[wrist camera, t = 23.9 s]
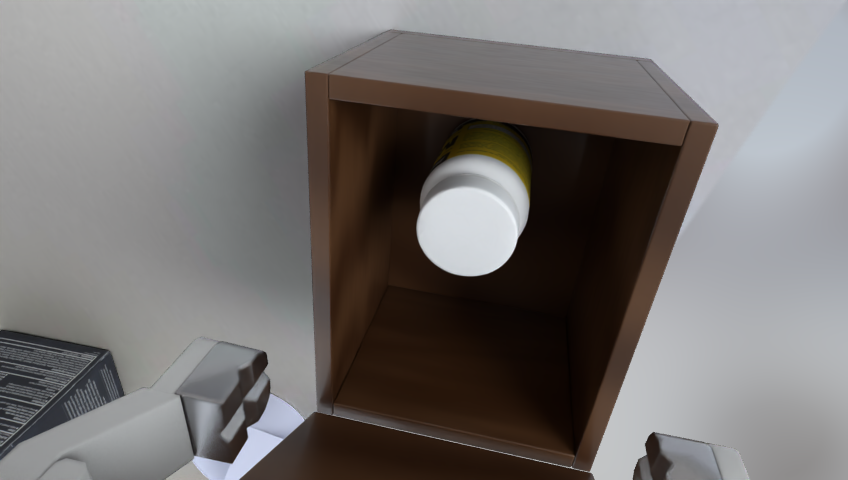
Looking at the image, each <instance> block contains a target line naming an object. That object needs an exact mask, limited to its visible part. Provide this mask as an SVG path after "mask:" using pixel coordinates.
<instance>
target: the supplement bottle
mask: <svg viewBox="0 0 848 480" xmlns="http://www.w3.org/2000/svg"><path fill="white" fill-rule="evenodd" d="M531 177H532V151H531V147H530V144H529V142H528V140H527V138H526V137H525V135H524V134H523V133H522V132H521V131H520V130H519V129H518V128H517V127H516V126H515V125H513V124H511V123H504V122H496V121H489V120H482V119H470V120H468V121H466V122H464V123H462V124H461V125H459V126H458V127H457V128H456V129H455V130H454V131H453V132H452V133H451V134H450V136H449V137H448V138H447V140H446V142H445V144H444V146H443V148H442V150H441V152H440V154H439V155H438V157H437V159H436V161H435V163H434V165H433V167H432V169H431V171H430V173H429V174H428V176H427V178H426V180H425V182H424V185H423V187H422V191H421V196H420V212H419V215H418V219H417V226H416V231H417V238H418V241H419V244H420V246H421V248H422V250H423V252H424V253H425V255H426V256H427V257H428V258H429V259H430V260H431V261H432V262H433V263H434V264H435V265H436V266H438V267H439V268H441V269H443V270H445V271H447V272H449V273H452V274H456V275H461V276H479V275H484V274H488V273H490V272H493V271H494V270H496V269H498V268H499V267H501V266H502V265H503V264H504V263H505V262H506V261H507V260H508V259H509V258H510V256H511V255H512V253H513V251H514V249H515V247H516V243H517V239H518V237H519V236H520V235H521V233H522V231H523V230H524V227H525V225H526V222H527V219H528V214H529V207H530V190H531Z"/></svg>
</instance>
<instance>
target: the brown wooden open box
mask: <svg viewBox="0 0 848 480" xmlns="http://www.w3.org/2000/svg"><path fill="white" fill-rule="evenodd" d="M305 91H306V119H307V146H308V174H309V201H310V229H311V257H312V284H313V312H314V340H315V367H316V395H317V411H318V412H322V413H326V414H331V415H333V413H334V415H336V416H341V417H345V418H350V419H354V420H359V421H363V422H368V423H373V424H377V425H382V426H386V427H391V428H395V429H400V430H404V431H409V432H413V433H418V434H422V435H427V436H431V437H436V438H440V439H445V440H449V441H454V442H458V443H463V444H467V445H472V446H476V447H481V448H485V449H490V450H494V451H499V452H503V453H508V454H512V455H517V456H521V457H526V458H530V459H535V460H539V461H544V462H549V463H553V464H558V465H562V466H567V467H571V466H572V468H574V469H579V470H583V471H588V472H589V471H590V470H591V467H592V464H593V462H594V459H595V456H596V454H597V451H598V448H599V445H600V443H601V440H602V438H603V435H604V432H605V429H606V427H607V424H608V421H609V419H610V416H611V413H612V411H613V408H614V405H615V403H616V400H617V397H618V395H619V392H620V389H621V387H622V384H623V381H624V379H625V376H626V373H627V370H628V368H629V365H630V362H631V360H632V357H633V354H634V352H635V349H636V346H637V343H638V341H639V338H640V336H641V333H642V330H643V327H644V325H645V322H646V319H647V317H648V314H649V311H650V309H651V306H652V303H653V301H654V298H655V295H656V293H657V290H658V287H659V284H660V282H661V279H662V277H663V274H664V271H665V268H666V266H667V263H668V260H669V258H670V255H671V252H672V250H673V247H674V244H675V242H676V239H677V236H678V234H679V231H680V228H681V226H682V223H683V220H684V217H685V215H686V212H687V209H688V207H689V204H690V201H691V199H692V196H693V193H694V191H695V188H696V185H697V183H698V180H699V177H700V175H701V172H702V169H703V166H704V164H705V161H706V158H707V156H708V153H709V150H710V148H711V145H712V142H713V140H714V137H715V134H716V132H717V129H718V123H717V122H716V121H714V120H713V119H712V118H711V117H710V116H709V115H708V114H707V113H706V112H705V111H704V110H703V109H702V108H701V107H700V106H699V105H698V104H697V103H696V102H695V101H694V100H693V99H692V98H691V97H690V96H688V95H687V94H686V93H685V92H684V91H683V90H682V89H681V88H680V87H679V86H678V85H677V84H676V83H675V82H674V81H673V80H672V79H671V78H670V77H669V76H668V75H667V74H666V73H665V72H664V71H662V70H661V69H660V68H659V67H658V66H657V65H656V64H655V63H654V62H653V61H652V60H651V59H644V58H636V57H627V56H618V55H609V54H601V53H592V52H583V51H574V50H566V49H557V48H548V47H539V46H530V45H522V44H513V43H504V42H495V41H487V40H478V39H469V38H460V37H452V36H443V35H434V34H425V33H417V32H408V31H399V30H389V31H387V32H385V33H383V34H381V35H379V36H377V37H375V38H373V39H371V40H368V41H366V42H364V43H362V44H360V45H358V46H356V47H354V48H352V49H350V50H348V51H346V52H344V53H342V54H340V55H338V56H336V57H334V58H332V59H329V60H327V61H325V62H323V63H321V64H319V65H317V66H315V67H313V68H311V69H309V70H307V71H305ZM470 119H482V120H489V121H496V122H504V123H511V124H513V125H515V126H516V127H517V128H518V129H519V130H520V131H521V132H522V133H523V134H524V135H525V137H526V138H527V140H528V142H529V144H530V147H531V151H532V177H531V190H530V207H529V214H528V219H527V222H526V225H525V227H524V230H523V231H522V233H521V235H520V236H519V237H518V239H517V243H516V247H515V249H514V251H513V253H512V255H511V256H510V258H509V259H508V260H507V261H506V262H505V263H504V264H503V265H502V266H501V267H499V268H498V269H496V270H494V271H493V272H490V273H488V274H484V275H479V276H461V275H456V274H452V273H449V272H447V271H445V270H443V269H441V268H439V267H438V266H436V265H435V264H434V263H433V262H432V261H431V260H430V259H429V258H428V257H427V256H426V255H425V253H424V252H423V250H422V248H421V246H420V244H419V241H418V238H417V231H416V226H417V219H418V215H419V212H420V196H421V191H422V187H423V185H424V182H425V180H426V178H427V176H428V174H429V173H430V171H431V169H432V167H433V165H434V163H435V161H436V159H437V157H438V155H439V154H440V152H441V150H442V148H443V146H444V144H445V142H446V140H447V138H448V137H449V136H450V134H451V133H452V132H453V131H454V130H455V129H456V128H457V127H458V126H459V125H461V124H462V123H464V122H466V121H468V120H470Z"/></svg>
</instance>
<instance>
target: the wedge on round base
mask: <svg viewBox="0 0 848 480" xmlns="http://www.w3.org/2000/svg"><path fill="white" fill-rule="evenodd" d="M303 422H304V419H303V418H302V416H301V415H300V414H299V413H298V412H297V411H296V410H295V409H294V408H293V407H292V406H291V405H289V404H288V403H287V402H285V401H284V400H282V399H281V398H279V397H277V396H275V395H273V394H270V396H269V400H268V403H267V406H266V409H265V411H264V413H263V414H262V416H261V418H260V420H259V421H258V422H256V423H255V424H253V425H251V426H250V427H248V428H247V432H248V439H247V441H246V443H245V444H244V446H243V447H242V449H241V451H240V452H239V454H238V456H237V457H236V459H235V460H234V462H233V464H229V463H225V462H220V461H215V460H211V459H206V458H201V457H197V456H194V459H193V460H192V461H193V463H194V464H195V466H196V467H197V468H198V469H199V470H200V471H201V472H202V473H203V474H204V475H205V476H206V477H207V478H208V479H210V480H239V479H240V478H241V477H242V476H243V475H245V474H246V473H247V472H248V471H249V470H250V469H251V468H252V467H253V466H255V465H256V464H257V463H258V462H259V461H260V460H261V459H262V458H264V457H265V456H266V455H267V454H268V453H269V452H270V451H271V450H272V449H274V448H275V447H276V446H277V445H278V444H279V443H280V442H281V441H283V440H284V439H285V438H286V437H287V436H288V435H289V434H290V433H291V432H293V431H294V430H295V429H296V428H297V427H298V426H299V425H300V424H301V423H303Z"/></svg>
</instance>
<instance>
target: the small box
mask: <svg viewBox="0 0 848 480" xmlns="http://www.w3.org/2000/svg"><path fill="white" fill-rule="evenodd" d="M123 396H124V392H123V389H122V386H121V383H120V380H119V377H118V374H117V371H116V368H115V365H114V362H113V359H112V356H111V353H110V352H109V351H107V350H103V349H97V348H92V347H87V346H82V345H77V344H71V343H66V342H61V341H56V340H51V339H46V338H41V337H36V336H30V335H26V334H20V333H15V332H10V331H5V330H1V331H0V461H1V460H2V459H3V458H4V457H5V456H6V455H7V454H8V453H9V452H10V451H11V450H12V449H14V448H15V447H16V446H17V445H18V444H19V443H21V442H23V441H25V440H28V439H30V438H32V437H34V436H37V435H39V434H41V433H43V432H45V431H48V430H50V429H52V428H54V427H56V426H59V425H61V424H63V423H65V422H68V421H70V420H72V419H74V418H76V417H79V416H81V415H83V414H85V413H87V412H90V411H92V410H94V409H96V408H99V407H101V406H103V405H105V404H107V403H110V402H112V401H114V400H116V399H119V398H121V397H123Z"/></svg>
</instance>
